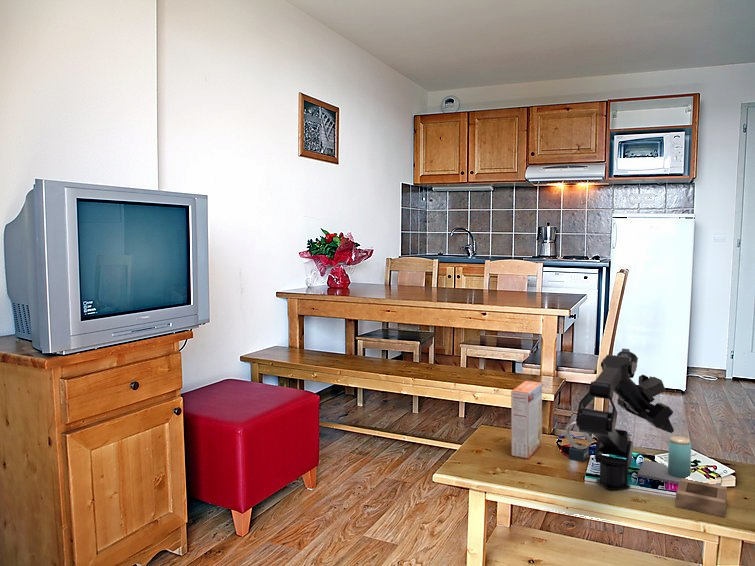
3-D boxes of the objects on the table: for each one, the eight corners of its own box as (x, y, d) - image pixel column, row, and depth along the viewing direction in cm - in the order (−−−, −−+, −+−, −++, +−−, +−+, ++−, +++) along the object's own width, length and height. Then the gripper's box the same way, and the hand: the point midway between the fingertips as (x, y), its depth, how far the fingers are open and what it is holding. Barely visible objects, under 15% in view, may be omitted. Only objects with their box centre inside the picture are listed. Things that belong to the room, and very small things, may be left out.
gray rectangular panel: (721, 477, 166) (721, 474, 166) (719, 493, 156) (719, 489, 156) (644, 463, 177) (644, 460, 177) (637, 477, 167) (637, 473, 167)
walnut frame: (675, 506, 149) (676, 492, 149) (680, 490, 158) (680, 478, 158) (724, 516, 143) (725, 502, 143) (726, 500, 152) (726, 486, 152)
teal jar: (684, 479, 163) (685, 443, 162) (664, 473, 167) (665, 438, 166) (694, 474, 166) (694, 439, 165) (673, 468, 170) (674, 434, 170)
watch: (589, 463, 177) (590, 427, 176) (562, 457, 182) (563, 422, 181) (595, 457, 182) (596, 422, 181) (568, 452, 186) (569, 417, 185)
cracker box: (524, 442, 195) (525, 379, 193) (542, 445, 192) (543, 382, 190) (509, 456, 183) (510, 389, 182) (528, 459, 180) (529, 392, 178)
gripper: (667, 377, 156) (704, 416, 159) (628, 361, 175) (661, 395, 177) (638, 408, 156) (675, 446, 159) (602, 388, 175) (636, 423, 177)
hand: (662, 426), depth 168 cm, fingers open, 9 cm apart
